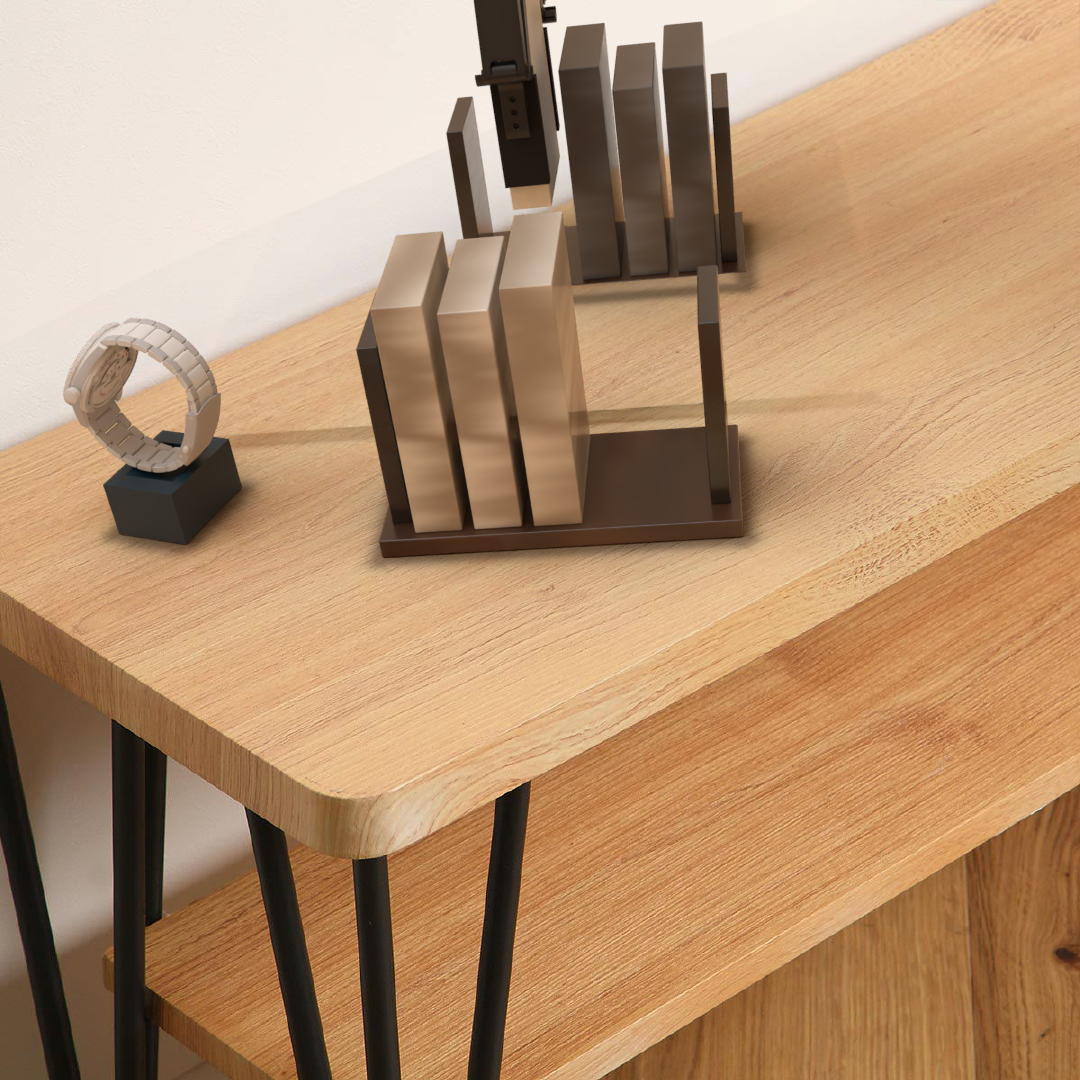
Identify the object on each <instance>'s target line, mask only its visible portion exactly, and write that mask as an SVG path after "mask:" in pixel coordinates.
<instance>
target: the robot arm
mask: <svg viewBox="0 0 1080 1080" xmlns="http://www.w3.org/2000/svg"><path fill="white" fill-rule="evenodd" d="M539 1H540V8H541V16H542V24H543V25H545V24H555V23H557V22H558V15H557V6H556V5H552V6H545V5H546V1H547V0H539ZM473 7H474V15H475V22H476V23H475V24H476V31H477V39H478V47H479V54H480V62H481V70H480V74H475V75H474V80H475V84H476V87H479V88H480V87H487V86H489V91H490V97H491V104H492V111H493V117H494V123H495V130H496V137H497V144H498V150H499V156H500V163H501V170H502V177H503V182H504V189H510V188H514V187H524V186H535V185H545V184H550V171H549V164H548V157H547V149H546V142H545V135H544V127H543V120H542V113H541V105H540V98H539V90H538V83H537V76H536V74H534V70H533V66H532V65H531V57H530V46H529V34H528V23H527V12H526V1H525V0H473ZM543 31H544V39H545V46H546V54H547V62H548V69H549V77H550V84H551V92H552V100H553V107H554V115H555V122H556V130H557V132H559V131H560V129H561V125H560V117H559V111H558V110H559V109H558V103H557V94H556V88H555V87H556V86H555V78H554V71H553V63H552V55H551V49H550V48H551V47H550V41H549V33H548V32H549V31H548V26H543ZM505 59H513V60H506V61H497V60H505Z"/></svg>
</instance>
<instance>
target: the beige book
mask: <svg viewBox="0 0 1080 1080" xmlns="http://www.w3.org/2000/svg"><path fill="white" fill-rule="evenodd" d="M525 1H526V12H527V23H528V34H529V46H530V57H531V65H532V66H533V70H534V74H536V76H537V83H538V90H539V98H540V105H541V113H542V120H543V127H544V135H545V142H546V149H547V157H548V164H549V171H550V184H545V185H535V186H524V187H514V188H509V193H510V198H511V206H512V210H514V211H516V210H528V209H537V208H548V207H552V205H553V201H554V194H555V188H556V182H557V176H558V170H559V165H560V158H561V153H560V146H559V139H558V131H557V130H556V122H555V115H554V107H553V100H552V92H551V84H550V77H549V69H548V62H547V54H546V46H545V39H544V31H543V27H544V24H542V16H541V8H540V1H539V0H525ZM506 60H513V59H505V60H497V61H506Z"/></svg>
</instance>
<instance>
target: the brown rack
mask: <svg viewBox="0 0 1080 1080" xmlns="http://www.w3.org/2000/svg"><path fill="white" fill-rule="evenodd" d="M564 226H565V220H564V213H563V211H562V210H561V211H551V212H538V213H528V214H527V213H526V214H515V215H513V219H512V224H511V229H510V231H511V233H510V237H509V242H508V247H507V251H506V244H505V238H504V236H494V237H482V238H470V239H463V238H461V239H456V242H455V244H454V245H455V246H454V249H453V253H452V257H451V261H450V265H449V260H448V259H449V258H448V253H447V249H446V242H445V236H444V232H443V231H429V232H418V233H417V232H415V233H406V234H396V235H395V236H394V239H393V243H392V245H391V248H390V251H389V255H388V257H387V260H386V263H385V266H384V269H383V271H382V274H381V277H380V280H379V282H378V286H377V289H376V291H375V292H374V295H373V298H372V301H371V305H370V307H369V311H368V314H367V316H366V319H365V322H364V325H363V328H362V331H361V334H360V337H359V339H358V342H357V345H356V348H355V351H356V356H357V360H358V366H359V370H360V375H361V380H362V384H363V390H364V394H365V399H366V403H367V407H368V413H369V418H370V422H371V427H372V431H373V437H374V442H375V445H376V450H377V456H378V461H379V465H380V469H381V474H382V479H383V485H384V490H385V493H386V498H387V504H388V507H387V511H386V514H385V517H384V522H383V526H382V528H381V529H382V530H381V532H380V536H379V540H378V544H379V549H380V554H381V557H382V558H389V557H406V556H408V557H409V556H423V555H424V556H425V555H441V554H442V555H444V554H459V553H475V552H477V553H478V552H479V553H480V552H493V551H512V550H527V549H531V550H532V549H547V548H548V549H549V548H563V547H580V546H597V545H598V546H600V545H614V544H615V545H618V544H632V543H634V544H635V543H648V542H649V543H651V542H667V541H685V540H703V539H719V538H720V539H721V538H722V539H723V538H737V537H743V536H744V519H743V517H744V516H743V496H742V475H741V457H740V437H739V426H738V424H729V423H728V421H729V420H728V405H727V390H726V377H725V375H726V374H725V360H724V345H723V328H722V315H721V299H720V286H719V285H720V284H719V274H718V267H717V265H710V266H698V267H697V276H696V309H697V310H696V311H697V312H696V313H697V314H696V315H697V316H696V317H697V319H696V321H697V323H696V324H697V337H698V349H699V363H700V375H701V391H702V402H703V416H704V426H691V427H675V428H661V429H646V430H632V431H631V430H630V431H615V432H601V433H590V432H591V431H590V425H589V417H588V408H587V400H586V392H585V391H586V390H585V385H584V374H583V367H582V359H581V352H580V343H579V336H578V335H579V334H578V325H577V318H576V311H575V302H574V295H573V294H574V293H573V286H572V285H571V277H570V268H569V260H568V252H567V244H566V236H565V228H564Z"/></svg>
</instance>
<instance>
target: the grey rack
mask: <svg viewBox="0 0 1080 1080" xmlns="http://www.w3.org/2000/svg"><path fill="white" fill-rule="evenodd" d="M703 23H704V22H703V21H691V22H680V23H671V24H664V25H663V33H662V35H663V36H662V58H661V59H662V61H661V62H662V63H661V66H662V67H661V73H662V86H663V87H662V88H663V98H664V99H663V100H664V112H665V120H666V121H665V122H666V123H665V124H666V135H667V149H668V159H669V172H670V173H669V174H670V185H671V197H672V208H673V211H672V212H673V217H672V216H671V215H670V206H669V205H670V204H669V194H668V182H667V171H666V170H667V168H666V159H665V156H666V155H665V146H664V145H665V144H664V133H663V123H662V122H663V121H662V120H663V119H662V109H661V97H660V86H659V83H660V82H659V72H658V71H659V70H658V59H657V48H656V47H657V46H656V42H655V41H651V42H642V43H632V44H631V43H630V44H622V45H621V44H620V45H616V51H615V59H614V60H615V61H614V70H613V78H612V82H611V72H610V62H609V51H608V43H607V32H606V23H605V22H600V23H588V24H579V25H569V26H566V27H565V33H564V38H563V43H562V48H561V53H560V59H559V65H558V71H557V73H558V80H559V81H558V82H559V89H560V97H561V106H562V115H563V123H564V124H563V125H564V131H565V141H566V148H567V149H566V151H567V157H568V167H569V175H570V182H571V191H572V200H573V207H574V215H575V224H576V225H564V228H565V236H566V244H567V252H568V260H569V268H570V277H571V285H572V287H573V286H585V285H598V284H600V285H601V284H612V283H623V282H625V283H626V282H638V281H649V280H650V281H651V280H661V279H664V280H665V279H675V278H687V277H697V267H698V266H710V265H717V267H718V275H726V274H737V273H739V274H740V273H747V260H746V245H745V231H744V216H743V211H736V208H735V207H736V205H735V190H734V189H735V188H734V172H733V155H732V141H731V140H732V138H731V137H732V136H731V121H730V105H729V104H730V103H729V88H728V85H729V84H728V73H727V72H717V73H711V74H710V93H711V94H710V97H711V114H712V117H711V118H712V131H713V132H712V133H713V148H714V163H715V180H716V195H717V197H716V198H717V211H718V213H716V207H715V192H714V191H715V189H714V176H713V160H712V147H711V145H712V143H711V131H710V115H709V114H710V113H709V101H708V100H709V99H708V86H707V70H706V68H707V67H706V53H705V40H704V39H705V38H704V24H703ZM455 101H456V102H455V104H454V107H453V112H452V114H451V117H450V120H449V123H448V126H447V130H446V133H445V134H446V140H447V147H448V153H449V160H450V165H451V172H452V178H453V184H454V190H455V191H454V192H455V197H456V202H457V203H456V204H457V207H458V215H459V221H460V227H461V233H462V239H470V238H482V237H494V236H504V238H505V244H506V251H507V247H508V242H509V237H510V233H511V230H505V231H494V230H493V222H492V216H491V215H492V214H491V209H490V202H489V195H488V188H487V182H486V181H487V180H486V175H485V168H484V162H483V154H482V149H481V141H480V135H479V128H478V122H477V116H476V109H475V102H474V97H473V96H462V97H457V98H456V100H455ZM670 216H671V217H670Z"/></svg>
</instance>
